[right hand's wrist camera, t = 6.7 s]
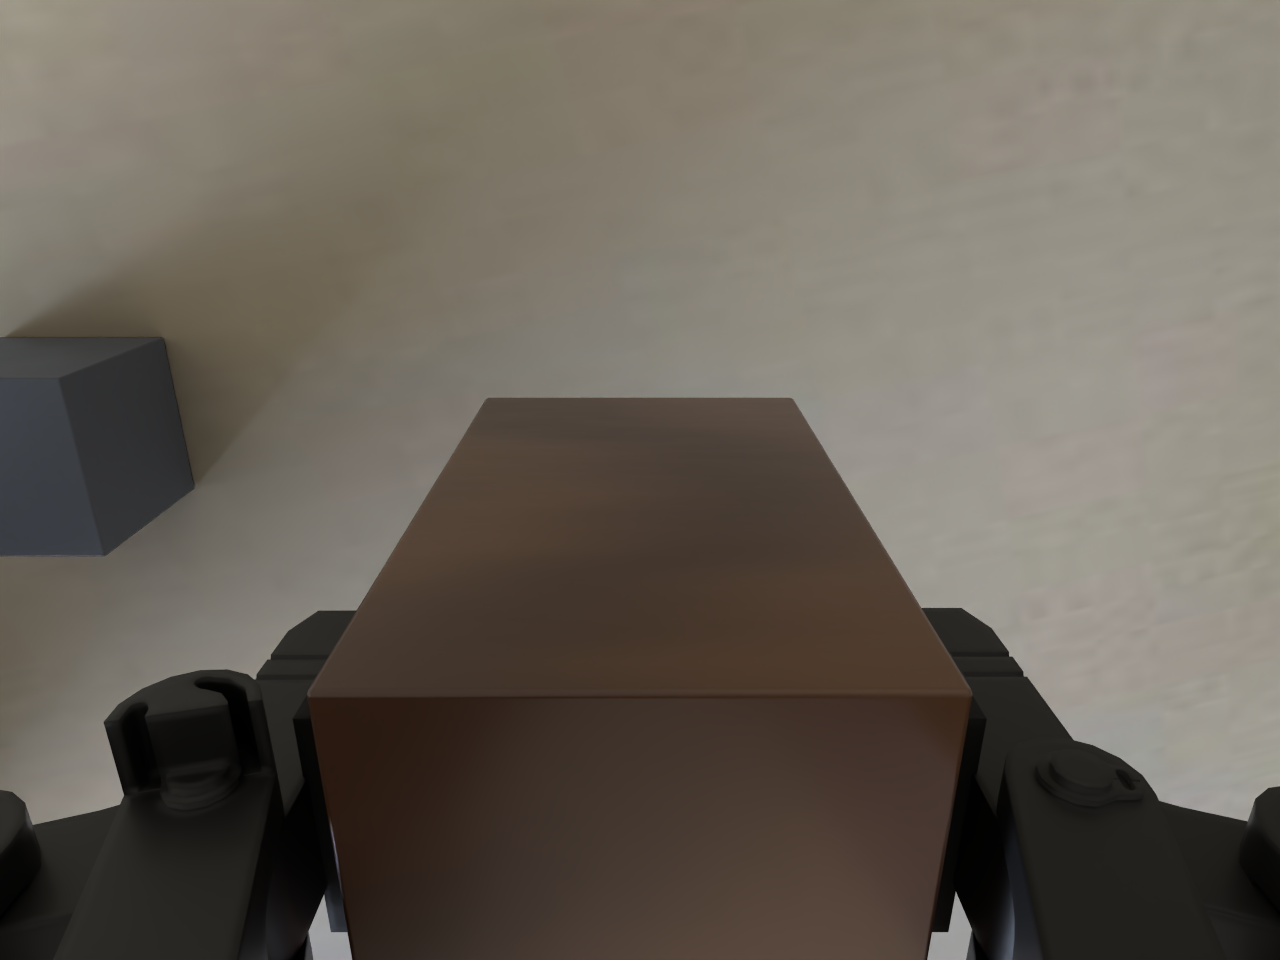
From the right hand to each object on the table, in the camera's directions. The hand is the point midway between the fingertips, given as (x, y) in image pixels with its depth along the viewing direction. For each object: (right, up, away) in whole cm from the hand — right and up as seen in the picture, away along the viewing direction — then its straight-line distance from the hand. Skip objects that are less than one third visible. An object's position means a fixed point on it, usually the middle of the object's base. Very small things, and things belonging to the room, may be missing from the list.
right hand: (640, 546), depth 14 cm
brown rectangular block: (0, -9, +4) cm, 10 cm away
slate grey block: (-17, +3, +12) cm, 21 cm away
